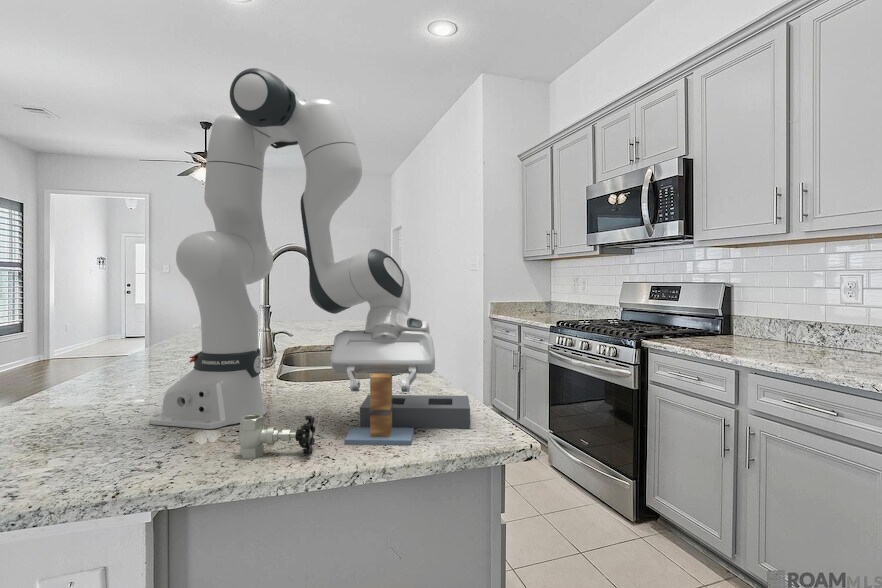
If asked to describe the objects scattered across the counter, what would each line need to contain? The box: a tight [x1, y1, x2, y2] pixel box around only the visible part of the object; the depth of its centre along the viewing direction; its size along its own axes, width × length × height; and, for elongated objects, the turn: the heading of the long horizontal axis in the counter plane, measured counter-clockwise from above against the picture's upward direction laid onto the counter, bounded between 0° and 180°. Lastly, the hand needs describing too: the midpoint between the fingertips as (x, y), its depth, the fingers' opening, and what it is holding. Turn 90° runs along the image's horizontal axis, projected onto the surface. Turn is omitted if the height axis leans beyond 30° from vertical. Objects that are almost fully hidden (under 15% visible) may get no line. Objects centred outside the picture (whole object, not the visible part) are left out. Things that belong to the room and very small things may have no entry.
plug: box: [369, 373, 393, 437], centre depth 89 cm, size 4×4×11 cm
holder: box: [359, 394, 471, 429], centre depth 100 cm, size 22×10×4 cm, turn 89°
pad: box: [343, 426, 415, 446], centre depth 89 cm, size 12×7×1 cm, turn 89°
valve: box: [238, 414, 316, 460], centre depth 81 cm, size 7×7×12 cm
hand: (379, 390), depth 88 cm, fingers open, 8 cm apart
